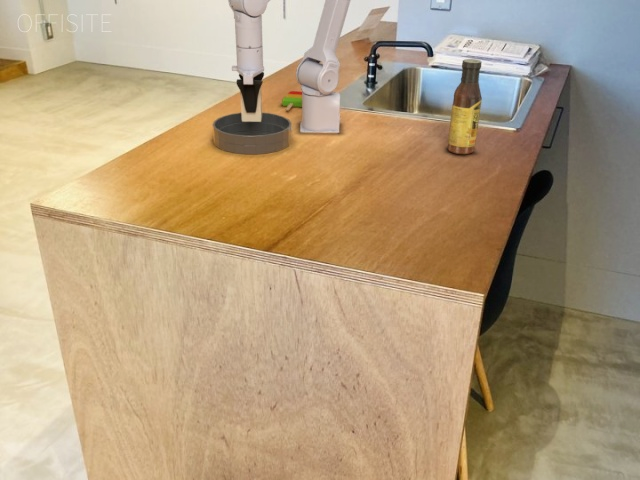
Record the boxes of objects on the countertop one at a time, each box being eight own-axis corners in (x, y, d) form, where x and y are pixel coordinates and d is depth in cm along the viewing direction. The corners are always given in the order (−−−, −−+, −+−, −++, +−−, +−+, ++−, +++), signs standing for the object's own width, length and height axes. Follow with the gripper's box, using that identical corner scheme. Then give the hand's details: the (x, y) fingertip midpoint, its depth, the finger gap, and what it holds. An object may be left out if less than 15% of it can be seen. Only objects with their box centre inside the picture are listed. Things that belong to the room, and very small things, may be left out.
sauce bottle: (474, 156, 154) (487, 65, 143) (446, 154, 155) (457, 63, 144) (474, 147, 160) (487, 58, 149) (447, 145, 161) (458, 56, 150)
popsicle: (308, 98, 192) (308, 91, 191) (297, 114, 179) (297, 106, 178) (289, 97, 192) (289, 90, 191) (276, 112, 180) (276, 105, 179)
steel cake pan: (292, 130, 167) (292, 112, 165) (290, 156, 152) (290, 136, 150) (218, 130, 167) (217, 111, 164) (209, 155, 152) (208, 135, 149)
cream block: (262, 115, 159) (261, 80, 154) (261, 121, 155) (260, 85, 150) (243, 115, 158) (241, 80, 154) (241, 121, 155) (240, 85, 150)
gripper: (233, 38, 154) (236, 99, 161) (227, 53, 142) (231, 118, 149) (265, 39, 154) (266, 100, 162) (261, 53, 142) (263, 118, 149)
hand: (251, 108), depth 155 cm, fingers closed on cream block, 4 cm apart
